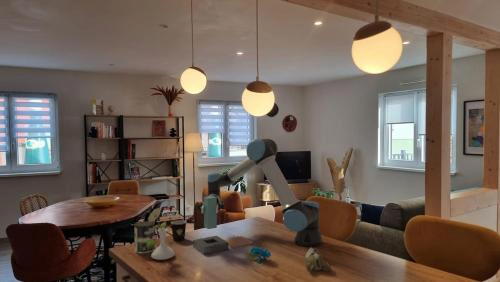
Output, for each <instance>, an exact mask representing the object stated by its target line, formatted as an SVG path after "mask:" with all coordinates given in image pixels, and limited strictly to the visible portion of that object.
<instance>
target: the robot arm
mask: <svg viewBox="0 0 500 282" xmlns="http://www.w3.org/2000/svg"><path fill="white" fill-rule="evenodd" d="M278 150H279V149H278V144H277V143H276V141H275V140H273V139H270V138H255V139H253V140H250V141H249V142H248V144H247V146H246V156H247V157H246V158H244V160H241V162H239V163H238V164H237V165H235V166H233V167H232V168H231V169H230V170H228V171H227V172H225V173H224V174H220V173H219V172H210V173H208V174H207V179H206V180H207V197H209V196H214V197H217V206H216V213H217V214H218V213H219V211H221V210H224V209H225V201H221V199H222V198H221V188H222V187H229V186H231V185H232V186H233V184H235V182H236V181H237V180H238V179H240V178H241V177H243V176H244V175H246V174H247V173H249V172H250V171H252V170H253V169H255V168H256V167H257V168H260V169H261V170H262V172H263V175H264V176H265V177H266V179H267V181H268V183H269V184H270V187H271V189H272V190H273V192H274V194H275V196H276V197H277V199H278V201H279V203H280V205H281V213H282V215H283V216H282V222H283V225H284V227H286V229H288V230H289V231H291V232H294V233H295V232H296V234H295V236H294V243H295V244H296V245H298V246H301V247H305V248H306V247H307V248H311V247H312V248H315V247H320V246H322V245H323V238H322V234H321V231H320V204H319V202H317V201H312V200H311V201H309V200H300V199H298V198H297V197H296V195H295V194H294V191H293V190H292V188H291V187H290V184H289V183H288V181H287V179H286V178H285V176H284V174H283V173H282V171H281V168H280V167H279V166H278V163H277V161H276V157H277V156H276V155H277V153H278ZM196 209H197V211H200V213H201V214H204V201H200V202H199V203H198V205H197V208H196Z"/></svg>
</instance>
